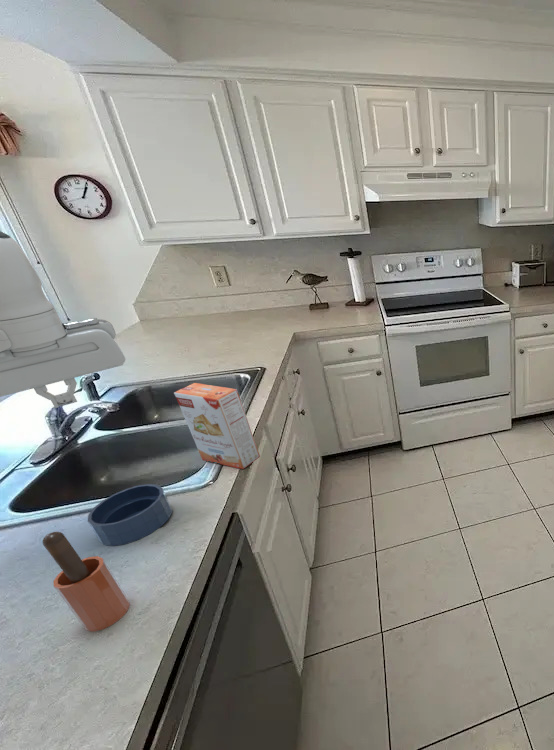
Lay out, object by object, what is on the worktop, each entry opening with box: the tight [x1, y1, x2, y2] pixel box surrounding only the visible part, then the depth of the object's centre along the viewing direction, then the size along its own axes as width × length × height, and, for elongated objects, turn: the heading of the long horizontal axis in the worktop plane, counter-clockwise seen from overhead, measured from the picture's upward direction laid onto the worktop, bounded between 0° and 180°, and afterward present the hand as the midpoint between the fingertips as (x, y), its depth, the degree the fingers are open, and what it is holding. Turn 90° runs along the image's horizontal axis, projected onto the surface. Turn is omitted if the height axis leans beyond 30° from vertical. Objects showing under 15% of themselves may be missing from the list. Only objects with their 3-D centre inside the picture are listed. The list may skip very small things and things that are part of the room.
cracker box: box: [173, 382, 261, 470], centre depth 104 cm, size 14×6×21 cm, turn 73°
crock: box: [53, 555, 131, 633], centre depth 67 cm, size 6×6×11 cm
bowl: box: [87, 483, 173, 547], centre depth 87 cm, size 12×12×6 cm
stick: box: [42, 531, 91, 584], centre depth 64 cm, size 2×2×20 cm
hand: (66, 404), depth 73 cm, fingers closed
